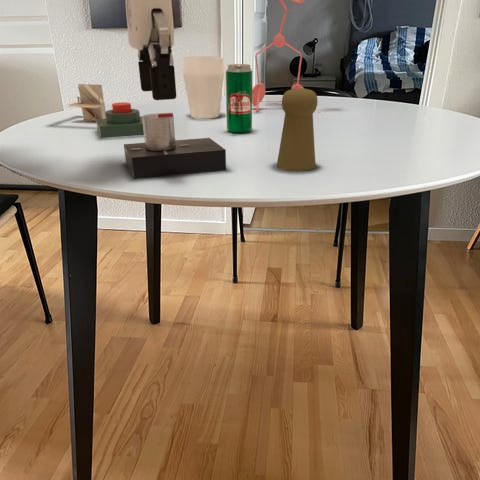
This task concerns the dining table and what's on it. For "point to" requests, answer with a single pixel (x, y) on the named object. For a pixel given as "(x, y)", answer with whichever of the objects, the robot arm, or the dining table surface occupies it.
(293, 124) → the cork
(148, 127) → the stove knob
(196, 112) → the cup
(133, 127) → the block
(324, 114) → the dining table surface
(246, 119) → the soda can
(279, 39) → the pink branching rod frame
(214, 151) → the panel
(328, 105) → the dining table surface
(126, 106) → the button
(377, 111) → the dining table surface
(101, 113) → the architectural model
